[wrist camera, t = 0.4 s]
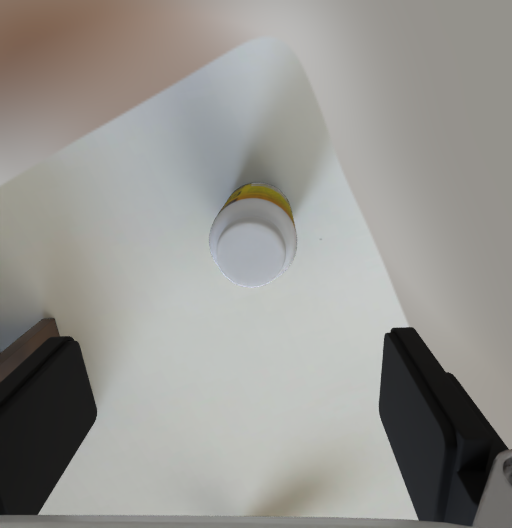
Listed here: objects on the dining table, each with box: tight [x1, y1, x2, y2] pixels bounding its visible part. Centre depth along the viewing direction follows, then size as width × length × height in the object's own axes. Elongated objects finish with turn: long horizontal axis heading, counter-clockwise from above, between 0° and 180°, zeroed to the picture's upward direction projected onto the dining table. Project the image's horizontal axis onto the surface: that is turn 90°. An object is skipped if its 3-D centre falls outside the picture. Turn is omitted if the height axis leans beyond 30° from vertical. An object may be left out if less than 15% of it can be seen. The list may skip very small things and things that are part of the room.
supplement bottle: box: [209, 183, 297, 288], centre depth 24 cm, size 6×6×10 cm
